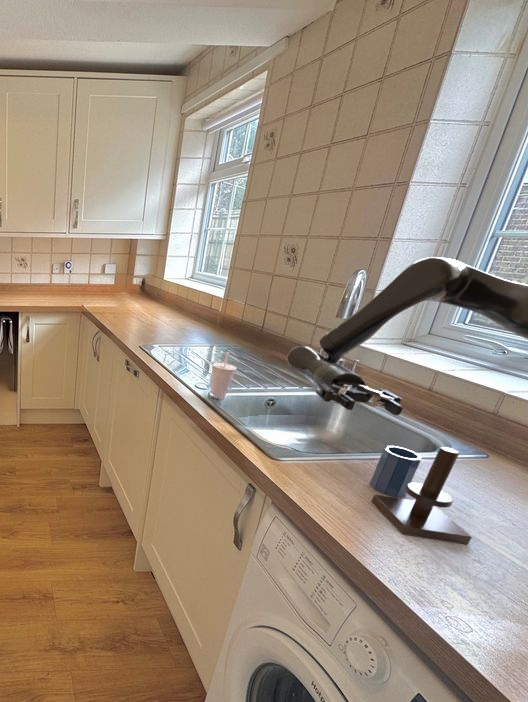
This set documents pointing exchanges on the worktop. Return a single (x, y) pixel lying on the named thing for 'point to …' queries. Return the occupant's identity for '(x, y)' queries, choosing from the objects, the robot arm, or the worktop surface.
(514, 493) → the worktop surface
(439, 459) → the stand
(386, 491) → the blue hollow faceted cylinder
